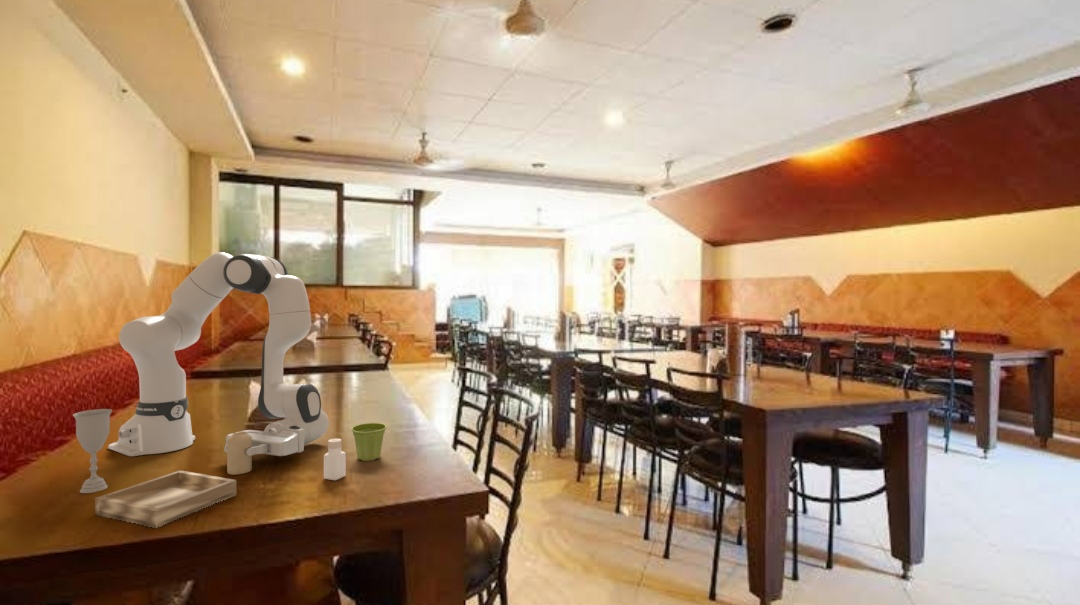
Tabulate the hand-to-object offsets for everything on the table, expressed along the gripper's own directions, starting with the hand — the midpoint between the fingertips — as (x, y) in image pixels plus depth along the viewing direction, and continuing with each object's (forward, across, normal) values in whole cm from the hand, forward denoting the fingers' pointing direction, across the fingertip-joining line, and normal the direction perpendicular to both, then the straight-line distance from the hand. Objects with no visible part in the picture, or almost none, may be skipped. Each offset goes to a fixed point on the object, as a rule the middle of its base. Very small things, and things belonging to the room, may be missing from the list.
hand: (236, 450), depth 135 cm
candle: (-1, 0, +6) cm, 6 cm away
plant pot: (-22, +24, +6) cm, 33 cm away
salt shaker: (-6, +26, +6) cm, 27 cm away
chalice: (+20, -21, +6) cm, 30 cm away
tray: (+20, +4, +6) cm, 21 cm away
